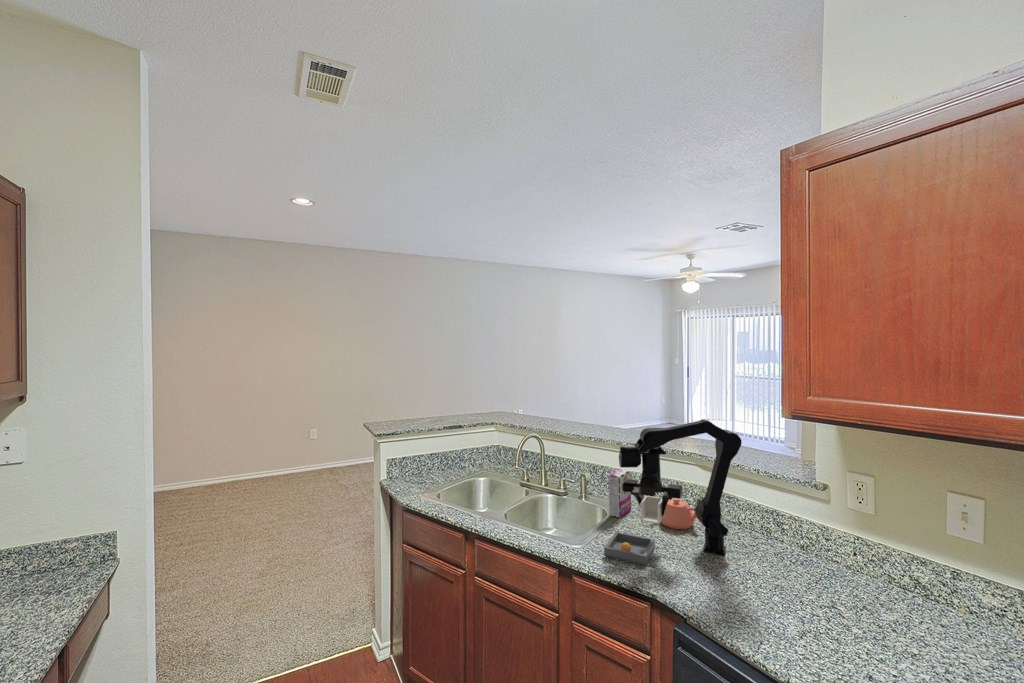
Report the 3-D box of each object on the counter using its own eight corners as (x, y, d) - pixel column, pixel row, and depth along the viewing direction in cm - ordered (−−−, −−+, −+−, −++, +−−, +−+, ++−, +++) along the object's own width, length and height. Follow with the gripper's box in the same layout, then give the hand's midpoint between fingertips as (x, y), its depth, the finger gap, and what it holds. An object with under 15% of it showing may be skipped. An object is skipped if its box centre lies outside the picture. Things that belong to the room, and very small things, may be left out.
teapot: (693, 535, 157) (693, 508, 157) (645, 522, 169) (644, 497, 169) (704, 524, 166) (704, 499, 166) (657, 513, 178) (657, 489, 178)
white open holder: (646, 513, 152) (645, 495, 153) (664, 516, 149) (663, 498, 150) (640, 521, 145) (640, 503, 146) (659, 524, 142) (659, 505, 143)
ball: (620, 542, 144) (618, 545, 142) (629, 540, 143) (627, 542, 140) (624, 552, 143) (622, 555, 141) (633, 550, 142) (631, 553, 139)
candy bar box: (620, 507, 184) (619, 468, 185) (631, 510, 181) (631, 470, 182) (608, 516, 176) (608, 474, 176) (620, 518, 173) (619, 476, 173)
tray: (616, 540, 153) (616, 531, 153) (654, 548, 147) (654, 539, 147) (604, 557, 141) (604, 547, 141) (645, 566, 135) (645, 556, 135)
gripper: (616, 470, 145) (618, 518, 145) (676, 476, 136) (678, 527, 136) (625, 462, 155) (627, 507, 155) (682, 467, 146) (683, 515, 146)
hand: (652, 514), depth 147 cm, fingers closed on white open holder, 6 cm apart
